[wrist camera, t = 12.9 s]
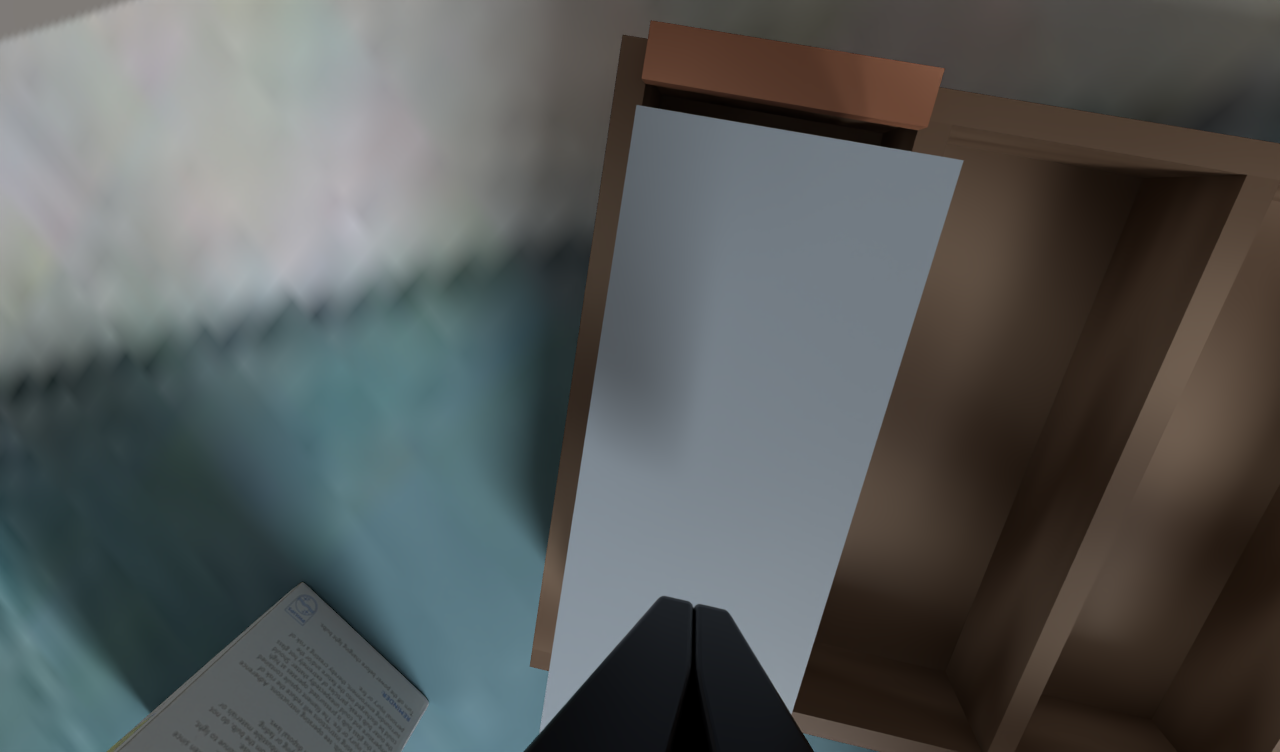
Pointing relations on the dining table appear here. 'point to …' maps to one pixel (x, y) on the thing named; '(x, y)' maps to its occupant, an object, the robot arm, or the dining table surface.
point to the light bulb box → (287, 692)
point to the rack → (1025, 418)
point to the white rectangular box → (740, 380)
